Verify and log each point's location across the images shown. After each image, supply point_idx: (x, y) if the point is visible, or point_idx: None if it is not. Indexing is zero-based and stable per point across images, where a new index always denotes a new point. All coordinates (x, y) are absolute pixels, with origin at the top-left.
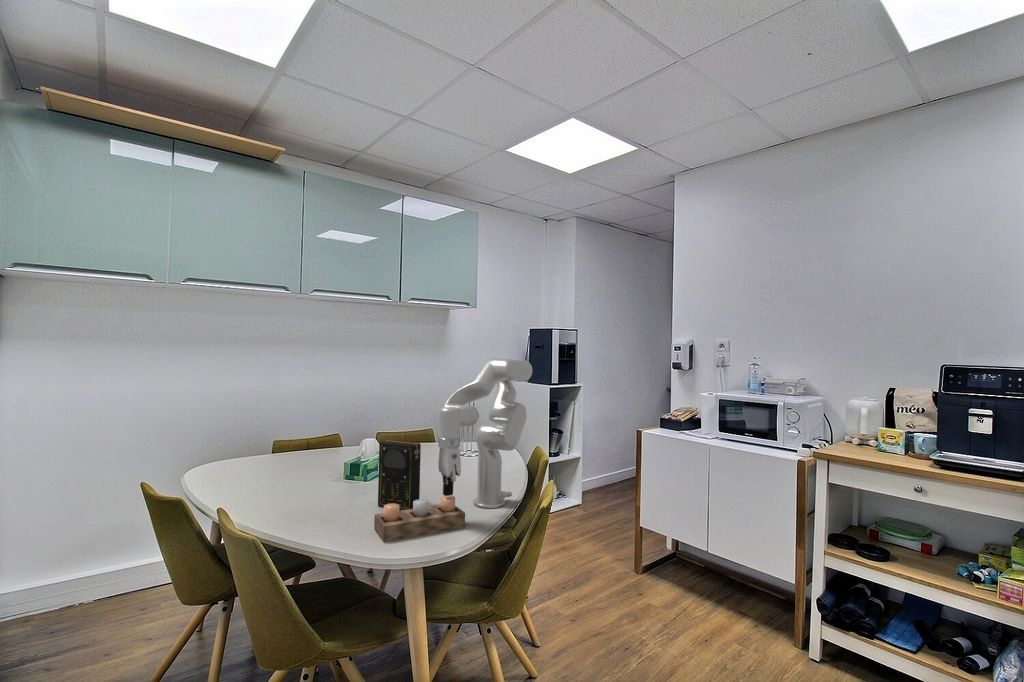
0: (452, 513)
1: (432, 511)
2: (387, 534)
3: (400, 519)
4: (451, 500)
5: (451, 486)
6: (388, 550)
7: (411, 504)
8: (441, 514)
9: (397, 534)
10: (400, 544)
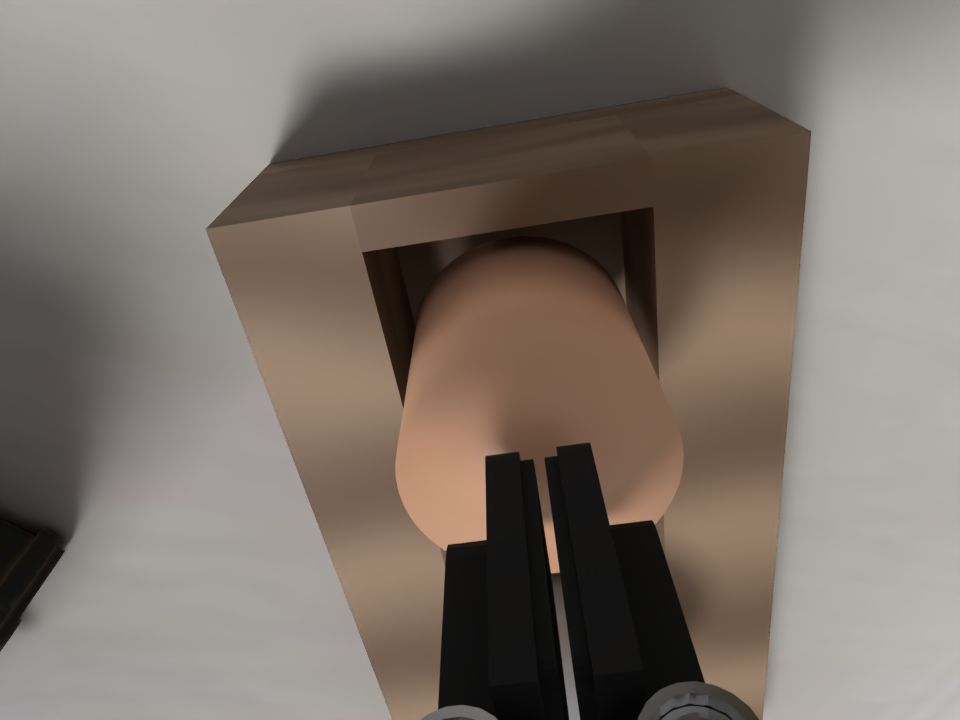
0: (731, 331)
1: None
2: None
3: None
4: (679, 431)
5: (694, 657)
6: (860, 716)
7: (25, 591)
8: (697, 465)
9: None
10: (807, 660)
